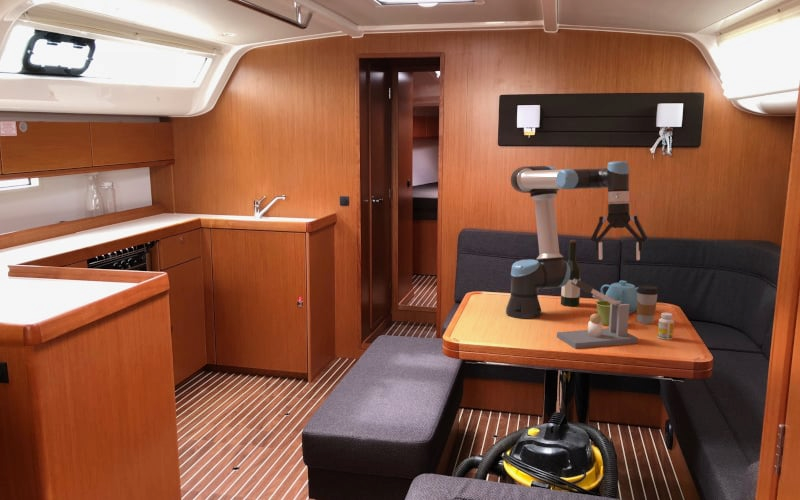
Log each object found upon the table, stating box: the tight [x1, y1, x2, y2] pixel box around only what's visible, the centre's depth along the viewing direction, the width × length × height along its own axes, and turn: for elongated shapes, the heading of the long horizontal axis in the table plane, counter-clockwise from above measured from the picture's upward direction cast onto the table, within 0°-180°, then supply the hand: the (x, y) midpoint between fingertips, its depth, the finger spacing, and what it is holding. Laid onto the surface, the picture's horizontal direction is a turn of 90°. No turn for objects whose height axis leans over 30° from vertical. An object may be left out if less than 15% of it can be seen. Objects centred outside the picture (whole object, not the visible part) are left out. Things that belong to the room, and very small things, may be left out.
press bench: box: [556, 301, 639, 349], centre depth 242 cm, size 14×26×14 cm, turn 104°
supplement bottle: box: [657, 312, 675, 341], centre depth 246 cm, size 5×5×10 cm
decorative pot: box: [598, 279, 638, 315], centre depth 285 cm, size 16×16×14 cm
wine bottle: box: [560, 239, 582, 308], centre depth 294 cm, size 8×8×30 cm
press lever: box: [571, 278, 621, 307], centre depth 240 cm, size 4×23×3 cm, turn 104°
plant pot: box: [595, 300, 610, 327], centre depth 265 cm, size 9×9×9 cm
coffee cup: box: [636, 284, 659, 325], centre depth 267 cm, size 8×8×15 cm
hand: (619, 259), depth 241 cm, fingers open, 13 cm apart
